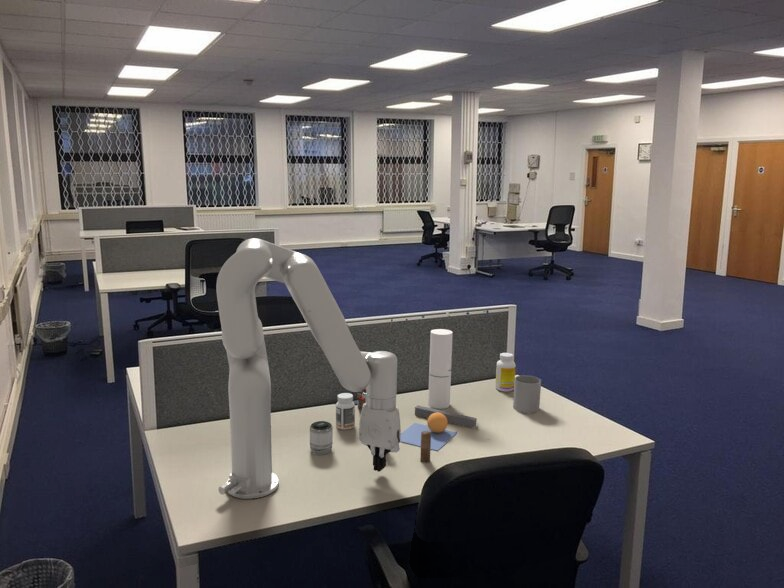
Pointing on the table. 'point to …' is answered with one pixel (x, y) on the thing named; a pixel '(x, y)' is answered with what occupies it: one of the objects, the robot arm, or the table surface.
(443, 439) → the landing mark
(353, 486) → the table surface
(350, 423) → the pill bottle
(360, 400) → the supplement bottle
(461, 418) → the wall
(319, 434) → the camera lens
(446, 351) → the cylindrical container
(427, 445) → the right post
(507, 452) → the table surface
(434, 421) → the ball
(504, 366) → the supplement bottle
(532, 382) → the cup
